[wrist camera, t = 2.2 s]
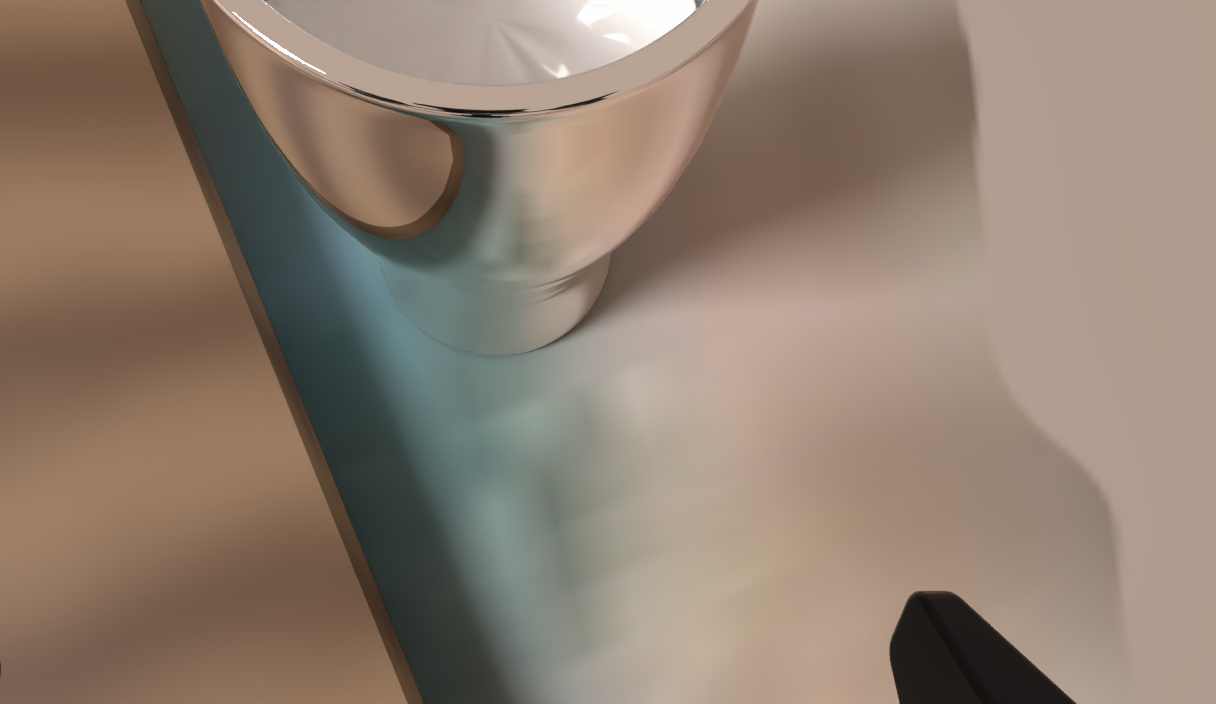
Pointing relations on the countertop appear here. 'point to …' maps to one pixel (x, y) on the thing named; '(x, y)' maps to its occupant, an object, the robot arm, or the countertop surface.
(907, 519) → the countertop surface
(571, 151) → the beer glass
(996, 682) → the robot arm
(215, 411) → the walnut board
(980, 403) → the countertop surface
